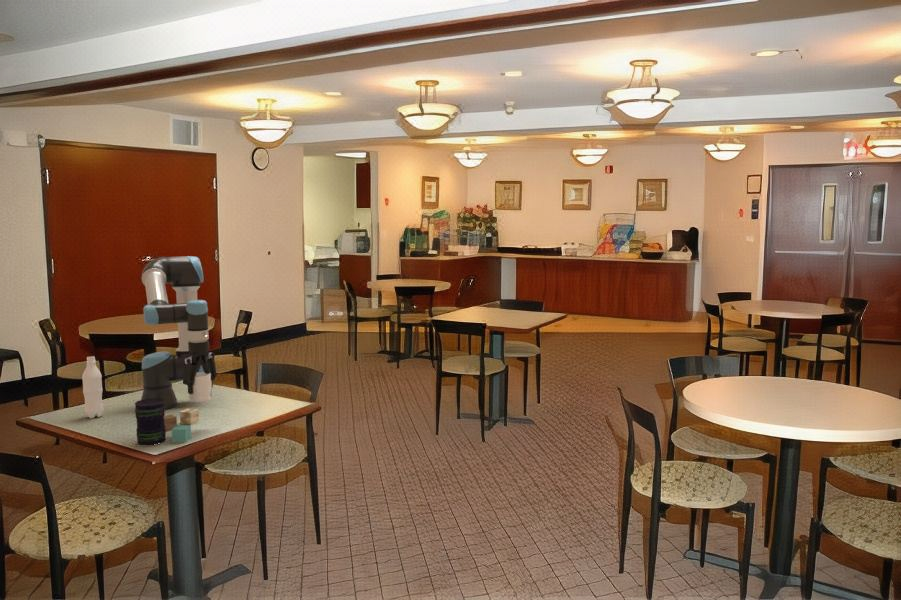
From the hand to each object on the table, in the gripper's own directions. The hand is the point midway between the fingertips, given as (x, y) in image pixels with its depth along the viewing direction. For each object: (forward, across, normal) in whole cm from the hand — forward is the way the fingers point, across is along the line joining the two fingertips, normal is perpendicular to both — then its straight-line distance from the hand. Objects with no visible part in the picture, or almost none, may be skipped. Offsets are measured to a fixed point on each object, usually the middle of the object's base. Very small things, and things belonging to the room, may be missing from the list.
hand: (201, 398), depth 271 cm
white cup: (+1, 0, 0) cm, 1 cm away
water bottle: (+12, -7, +53) cm, 55 cm away
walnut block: (+12, -6, +12) cm, 18 cm away
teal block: (+12, -14, -4) cm, 19 cm away
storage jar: (+12, -20, +4) cm, 24 cm away
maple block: (+12, +4, +11) cm, 17 cm away
